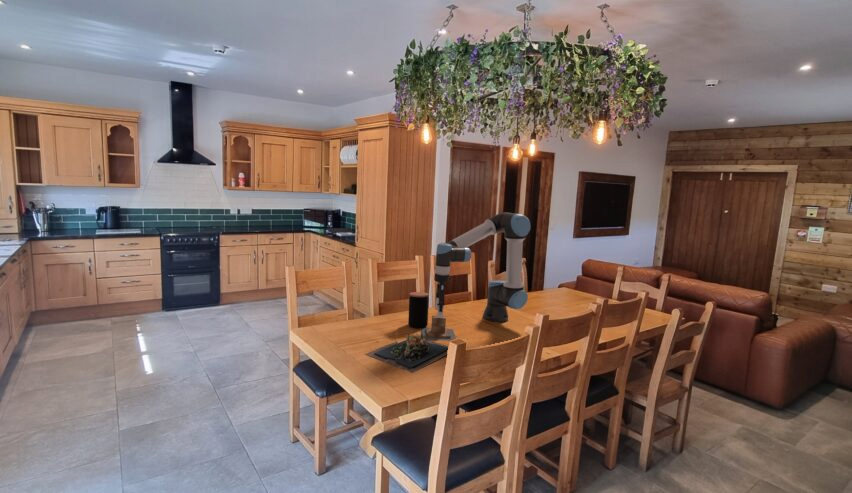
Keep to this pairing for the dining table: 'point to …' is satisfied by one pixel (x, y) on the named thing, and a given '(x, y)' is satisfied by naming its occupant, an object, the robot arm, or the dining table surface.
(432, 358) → the plated dish
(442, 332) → the lid
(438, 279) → the robot arm
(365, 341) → the dining table surface
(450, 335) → the mat
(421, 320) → the coffee jar
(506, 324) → the dining table surface
